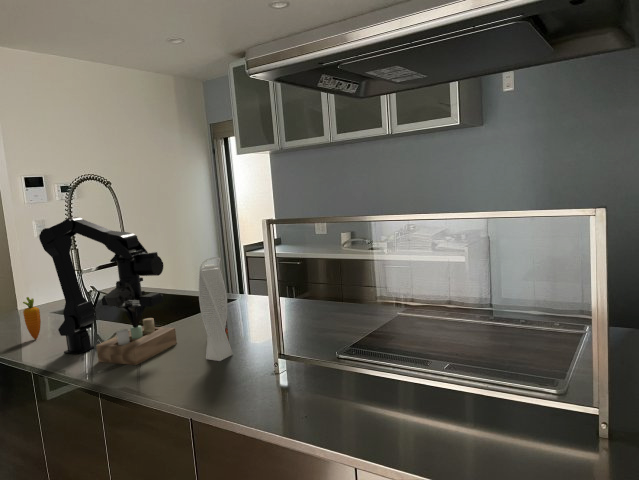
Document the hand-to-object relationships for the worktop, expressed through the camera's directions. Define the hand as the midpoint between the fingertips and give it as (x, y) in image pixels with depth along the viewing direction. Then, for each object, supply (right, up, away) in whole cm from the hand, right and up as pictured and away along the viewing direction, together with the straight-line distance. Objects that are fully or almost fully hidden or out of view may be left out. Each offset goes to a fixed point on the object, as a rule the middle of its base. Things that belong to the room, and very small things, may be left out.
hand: (135, 327), depth 151 cm
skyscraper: (+27, -7, -9) cm, 29 cm away
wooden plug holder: (+1, -8, +1) cm, 8 cm away
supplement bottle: (+25, -6, +2) cm, 26 cm away
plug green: (+1, -6, +1) cm, 6 cm away
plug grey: (-2, -6, -4) cm, 8 cm away
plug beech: (+2, -4, +6) cm, 8 cm away
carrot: (-44, -9, +24) cm, 51 cm away
